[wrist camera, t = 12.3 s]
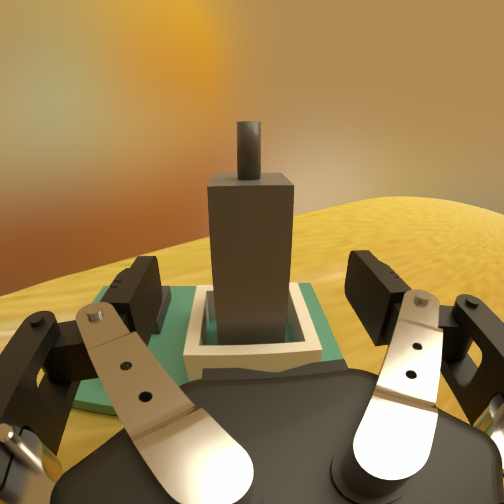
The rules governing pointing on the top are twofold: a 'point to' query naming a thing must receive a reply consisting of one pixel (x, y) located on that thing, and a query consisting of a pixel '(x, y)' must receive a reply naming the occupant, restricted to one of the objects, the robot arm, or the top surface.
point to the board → (206, 342)
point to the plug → (250, 246)
